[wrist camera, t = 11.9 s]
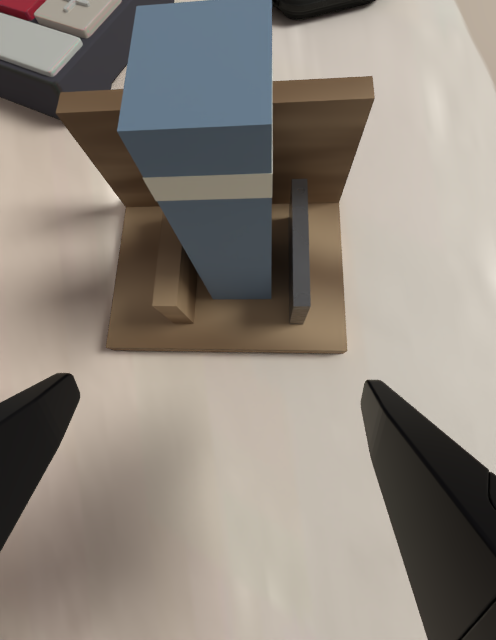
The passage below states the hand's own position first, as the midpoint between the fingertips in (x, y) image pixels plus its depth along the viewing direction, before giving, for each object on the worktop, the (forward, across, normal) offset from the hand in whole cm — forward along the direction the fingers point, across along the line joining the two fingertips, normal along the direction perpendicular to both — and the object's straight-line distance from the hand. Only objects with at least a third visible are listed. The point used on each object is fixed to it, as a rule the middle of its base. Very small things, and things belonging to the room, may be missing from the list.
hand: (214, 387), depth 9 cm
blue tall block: (+11, 0, 0) cm, 11 cm away
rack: (+12, +1, +1) cm, 12 cm away
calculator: (+27, +15, -14) cm, 34 cm away
